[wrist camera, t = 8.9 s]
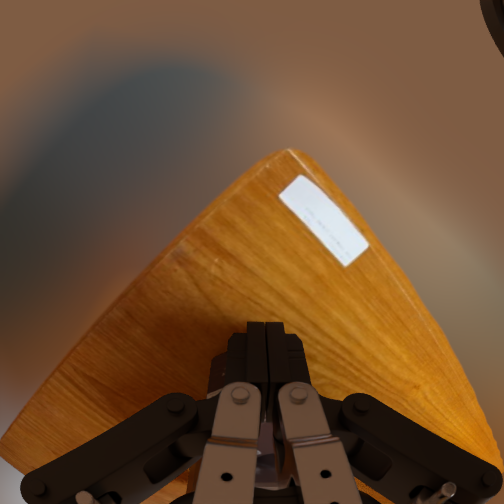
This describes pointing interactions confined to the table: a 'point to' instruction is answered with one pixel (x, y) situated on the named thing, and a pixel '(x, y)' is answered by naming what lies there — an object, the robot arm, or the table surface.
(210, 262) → the table surface
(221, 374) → the box
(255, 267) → the table surface
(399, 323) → the table surface
